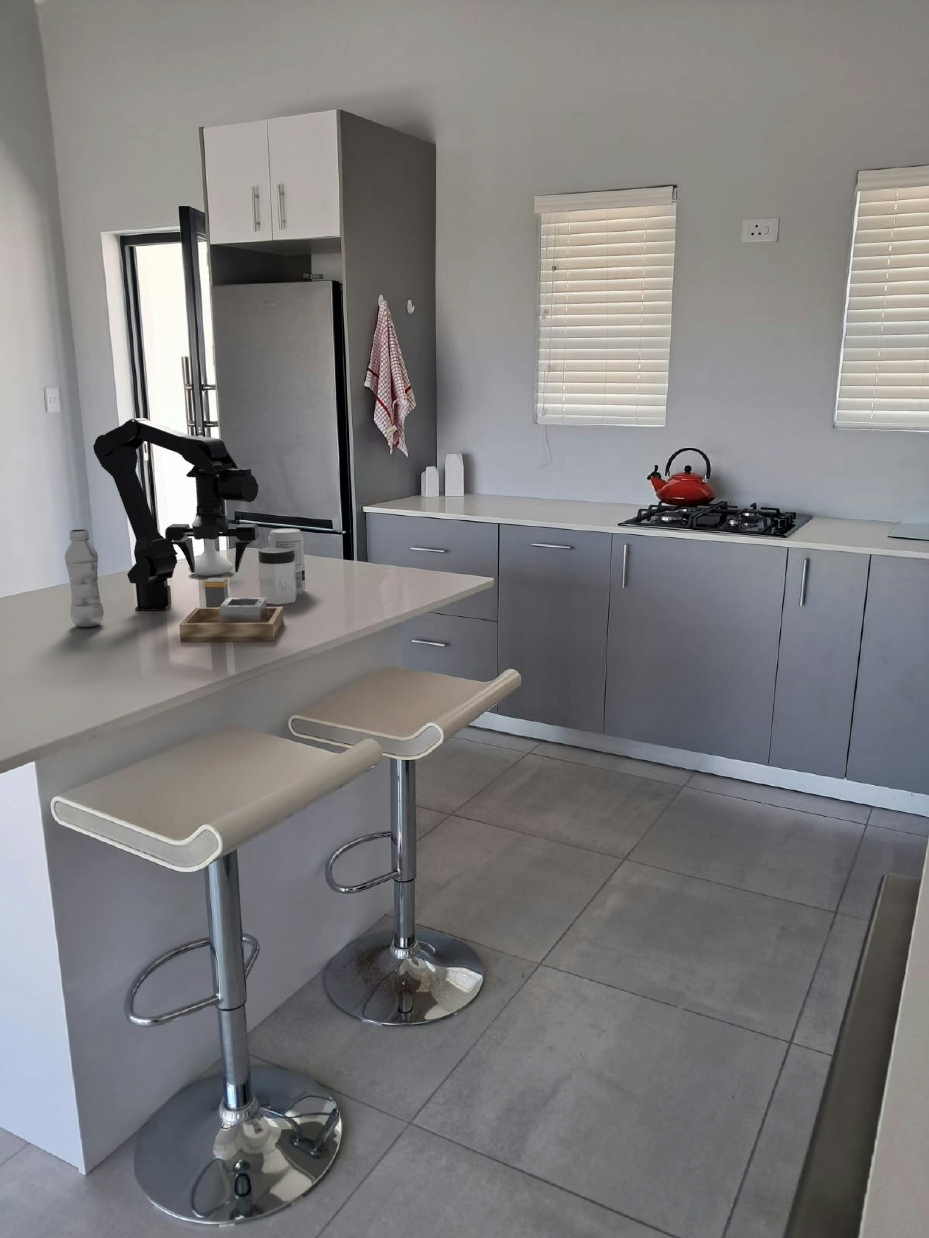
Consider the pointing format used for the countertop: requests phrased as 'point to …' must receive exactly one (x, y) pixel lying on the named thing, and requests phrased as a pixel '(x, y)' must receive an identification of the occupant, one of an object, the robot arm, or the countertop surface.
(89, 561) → the plastic bottle
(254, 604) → the socket
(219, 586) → the block
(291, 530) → the supplement can
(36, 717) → the countertop surface
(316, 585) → the countertop surface
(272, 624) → the oak box
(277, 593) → the jar
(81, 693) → the countertop surface
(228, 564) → the flower in vase
